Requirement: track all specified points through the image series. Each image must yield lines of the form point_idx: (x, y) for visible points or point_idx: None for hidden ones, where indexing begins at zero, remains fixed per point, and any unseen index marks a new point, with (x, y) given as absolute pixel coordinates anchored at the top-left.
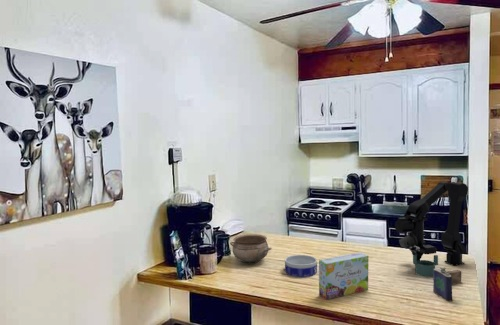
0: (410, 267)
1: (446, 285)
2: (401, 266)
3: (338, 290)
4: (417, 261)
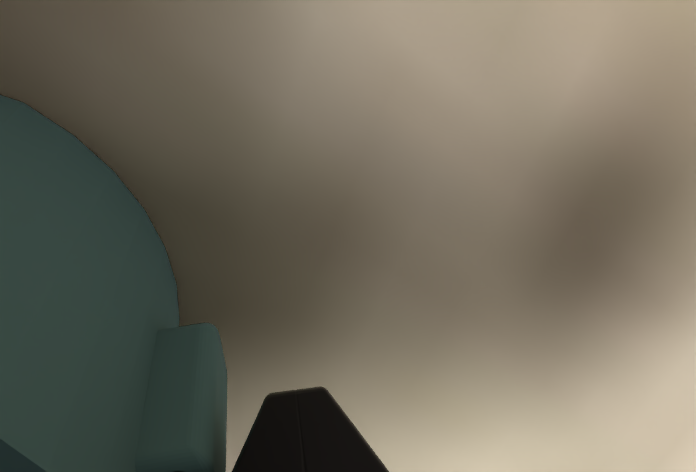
0: (476, 214)
1: None
2: (666, 20)
3: None
4: None
